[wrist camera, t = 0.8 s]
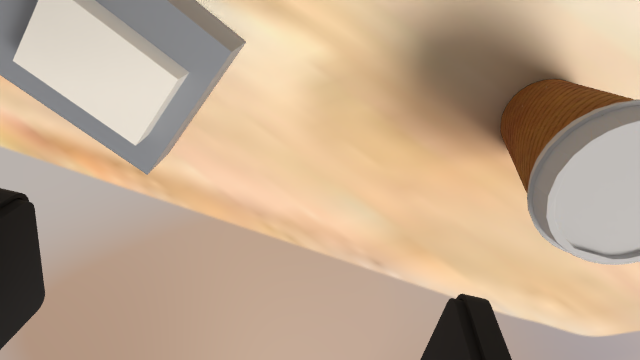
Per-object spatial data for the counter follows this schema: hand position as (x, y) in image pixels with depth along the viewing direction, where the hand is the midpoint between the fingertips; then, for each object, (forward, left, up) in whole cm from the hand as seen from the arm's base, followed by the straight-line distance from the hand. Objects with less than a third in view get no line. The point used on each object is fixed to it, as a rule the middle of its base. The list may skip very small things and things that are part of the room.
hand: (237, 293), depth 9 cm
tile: (-11, -8, -21) cm, 25 cm away
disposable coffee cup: (+16, +8, -25) cm, 30 cm away
